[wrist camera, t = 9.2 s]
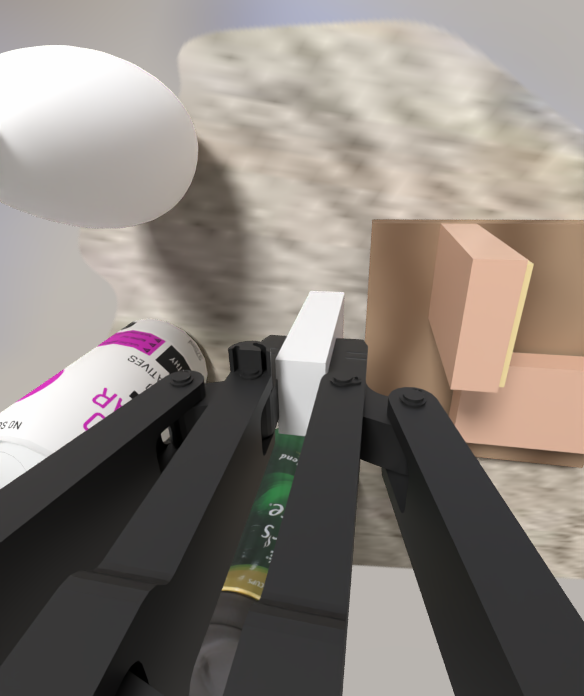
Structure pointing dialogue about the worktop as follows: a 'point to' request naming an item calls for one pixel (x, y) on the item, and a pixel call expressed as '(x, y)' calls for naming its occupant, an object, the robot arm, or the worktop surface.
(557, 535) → the worktop surface
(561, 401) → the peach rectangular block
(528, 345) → the board
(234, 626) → the coffee jar
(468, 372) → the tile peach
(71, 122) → the sauce bottle
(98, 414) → the supplement can
